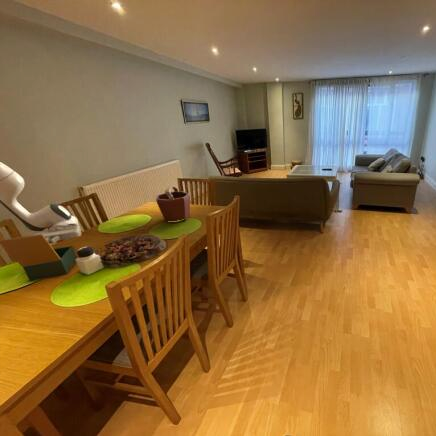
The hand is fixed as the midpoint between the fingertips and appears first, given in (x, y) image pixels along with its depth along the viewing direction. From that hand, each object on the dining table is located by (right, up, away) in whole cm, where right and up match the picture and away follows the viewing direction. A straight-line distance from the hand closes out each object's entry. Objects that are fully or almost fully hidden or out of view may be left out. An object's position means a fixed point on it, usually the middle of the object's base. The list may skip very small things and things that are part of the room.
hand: (49, 241), depth 119 cm
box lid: (+6, -2, -14) cm, 15 cm away
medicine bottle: (+21, -14, 0) cm, 25 cm away
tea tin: (+2, -14, +1) cm, 14 cm away
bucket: (+33, +11, +63) cm, 72 cm away
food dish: (+30, -7, +17) cm, 35 cm away
